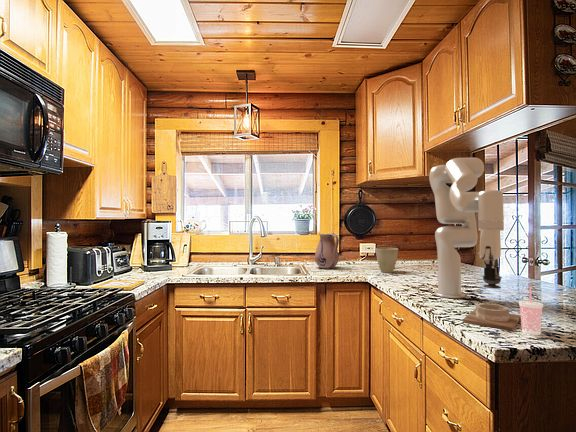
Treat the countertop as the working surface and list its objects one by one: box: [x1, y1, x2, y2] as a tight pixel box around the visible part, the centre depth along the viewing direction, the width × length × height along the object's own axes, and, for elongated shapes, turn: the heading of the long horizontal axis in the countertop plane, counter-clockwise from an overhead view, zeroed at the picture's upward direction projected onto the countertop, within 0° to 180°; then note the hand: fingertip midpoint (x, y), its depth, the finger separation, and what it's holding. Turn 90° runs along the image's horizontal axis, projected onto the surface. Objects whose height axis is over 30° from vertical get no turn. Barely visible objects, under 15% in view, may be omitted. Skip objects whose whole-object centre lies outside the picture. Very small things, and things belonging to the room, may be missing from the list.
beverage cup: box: [518, 285, 544, 336], centre depth 102 cm, size 6×6×14 cm
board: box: [462, 303, 521, 332], centre depth 115 cm, size 18×14×4 cm
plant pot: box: [374, 247, 399, 274], centre depth 225 cm, size 15×15×16 cm
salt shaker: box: [481, 258, 503, 290], centre depth 115 cm, size 6×6×12 cm
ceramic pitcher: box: [314, 233, 340, 270], centre depth 246 cm, size 18×21×25 cm
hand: (491, 278), depth 115 cm, fingers closed on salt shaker, 5 cm apart
